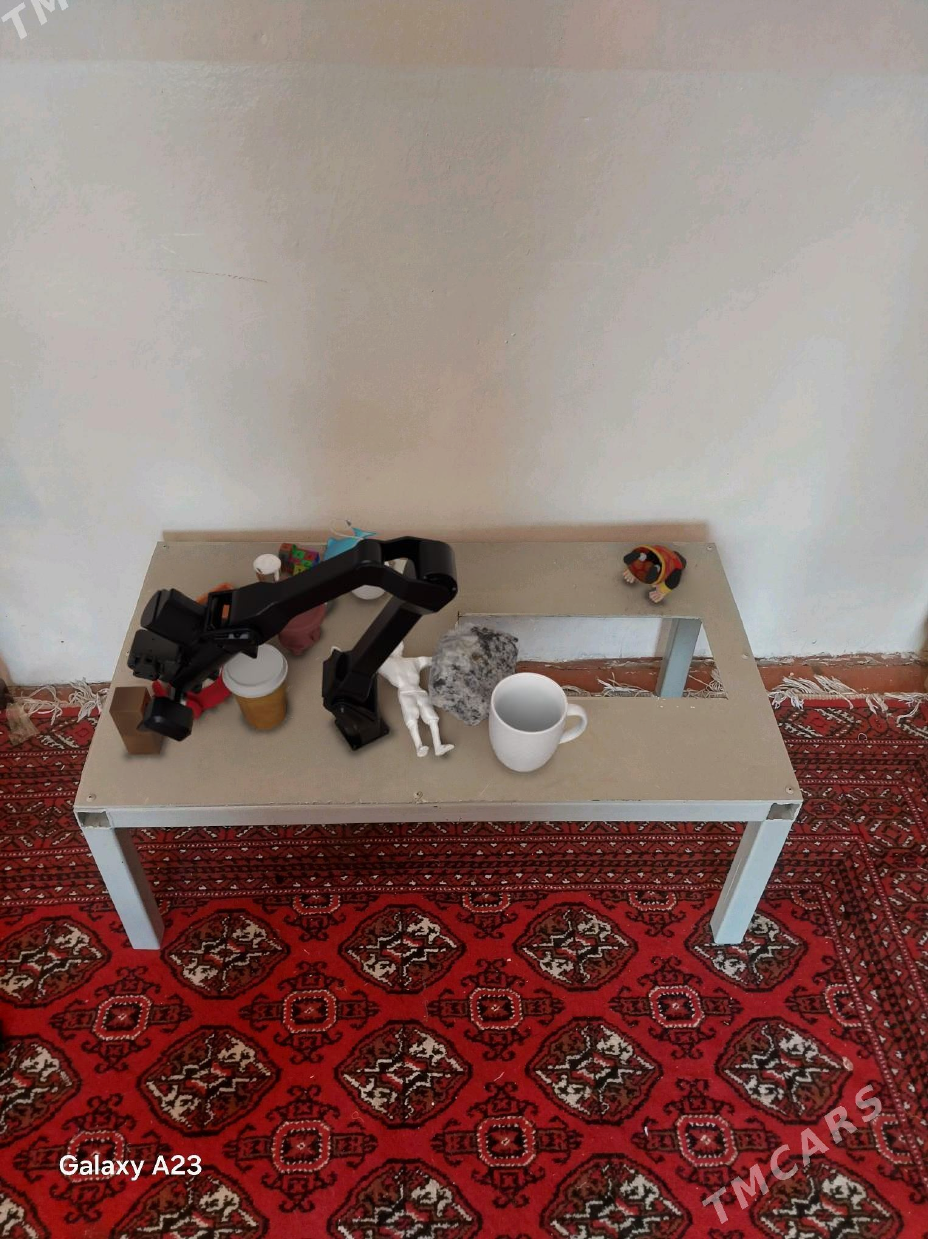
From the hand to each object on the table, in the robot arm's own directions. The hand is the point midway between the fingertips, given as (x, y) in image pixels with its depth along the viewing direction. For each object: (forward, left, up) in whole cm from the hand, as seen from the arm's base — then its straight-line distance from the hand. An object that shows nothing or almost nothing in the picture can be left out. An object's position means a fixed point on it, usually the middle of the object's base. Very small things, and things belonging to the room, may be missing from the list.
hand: (144, 704), depth 126 cm
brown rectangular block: (0, +2, -9) cm, 9 cm away
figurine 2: (-17, -80, -1) cm, 82 cm away
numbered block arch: (+21, -35, -9) cm, 42 cm away
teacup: (+11, -43, -9) cm, 45 cm away
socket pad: (+19, -19, -9) cm, 28 cm away
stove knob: (+13, -32, -9) cm, 36 cm away
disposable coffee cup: (-4, -16, -9) cm, 18 cm away
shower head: (+29, -46, -7) cm, 55 cm away
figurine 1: (-27, -34, -4) cm, 44 cm away
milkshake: (+18, -27, -9) cm, 34 cm away
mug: (-33, -46, -9) cm, 57 cm away
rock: (-21, -48, +1) cm, 53 cm away
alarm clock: (+5, -8, -9) cm, 13 cm away
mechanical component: (+6, -27, -9) cm, 29 cm away
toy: (+17, -47, -8) cm, 51 cm away
